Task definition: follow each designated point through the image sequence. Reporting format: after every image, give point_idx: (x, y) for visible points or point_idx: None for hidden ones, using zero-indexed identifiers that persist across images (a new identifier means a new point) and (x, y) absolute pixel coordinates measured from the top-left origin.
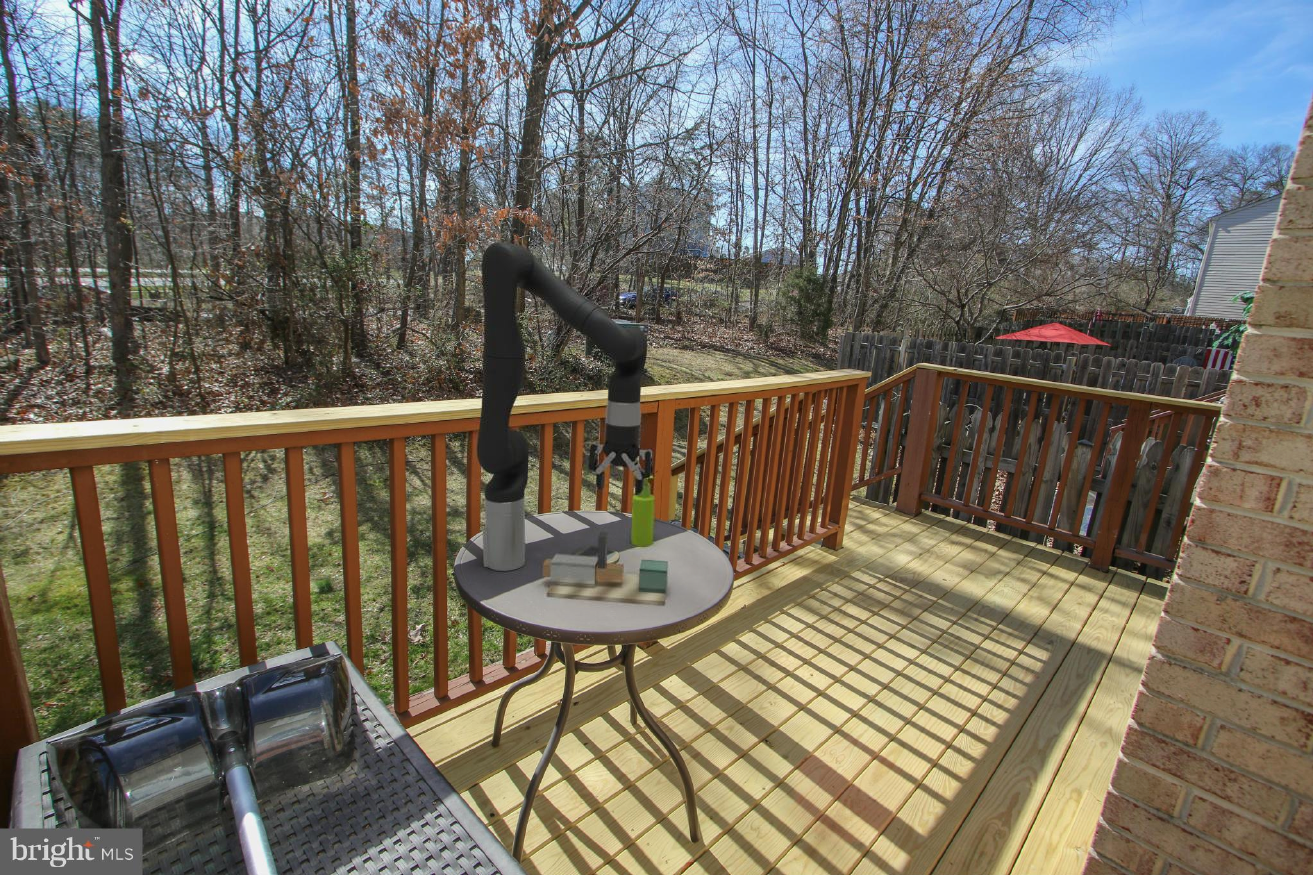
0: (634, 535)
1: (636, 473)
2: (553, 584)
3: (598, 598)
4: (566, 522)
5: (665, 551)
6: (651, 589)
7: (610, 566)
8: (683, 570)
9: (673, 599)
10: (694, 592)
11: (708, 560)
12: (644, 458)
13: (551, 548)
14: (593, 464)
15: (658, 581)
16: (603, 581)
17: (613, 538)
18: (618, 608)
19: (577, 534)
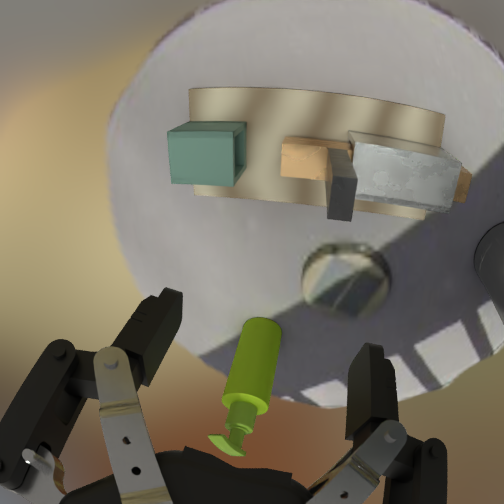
0: (273, 336)
1: (119, 386)
2: (435, 146)
3: (335, 93)
4: None
5: (217, 301)
6: (216, 122)
7: (314, 160)
8: (175, 233)
9: (177, 116)
10: (144, 151)
11: (143, 270)
12: (25, 452)
13: (425, 308)
14: (422, 473)
15: (195, 125)
16: None
17: (314, 343)
18: (286, 63)
19: None
